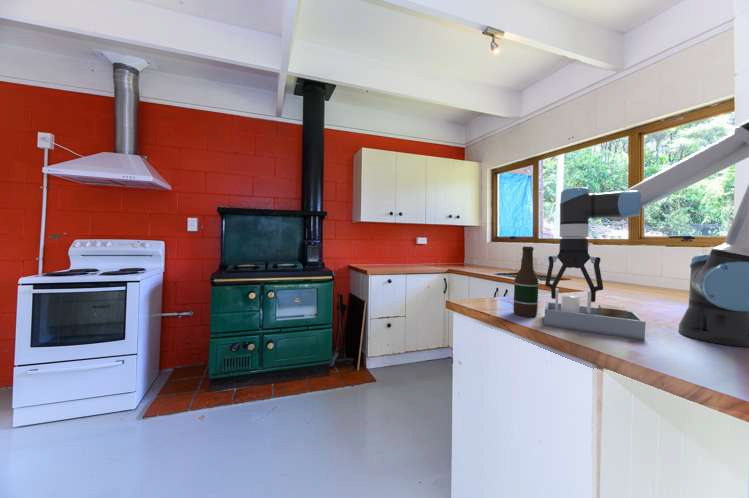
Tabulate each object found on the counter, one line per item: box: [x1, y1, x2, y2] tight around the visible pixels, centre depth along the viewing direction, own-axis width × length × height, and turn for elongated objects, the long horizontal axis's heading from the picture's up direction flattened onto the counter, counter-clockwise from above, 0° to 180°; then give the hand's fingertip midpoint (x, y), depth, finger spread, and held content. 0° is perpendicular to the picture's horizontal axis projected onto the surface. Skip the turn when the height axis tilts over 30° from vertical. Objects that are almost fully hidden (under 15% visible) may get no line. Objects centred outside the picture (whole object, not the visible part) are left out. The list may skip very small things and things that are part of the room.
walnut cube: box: [598, 303, 628, 319], centre depth 91 cm, size 6×6×6 cm
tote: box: [543, 301, 646, 341], centre depth 93 cm, size 24×14×5 cm, turn 59°
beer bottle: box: [513, 246, 539, 318], centre depth 107 cm, size 8×8×24 cm
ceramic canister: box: [560, 294, 581, 313], centre depth 96 cm, size 5×5×8 cm
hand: (572, 310), depth 96 cm, fingers open, 8 cm apart
